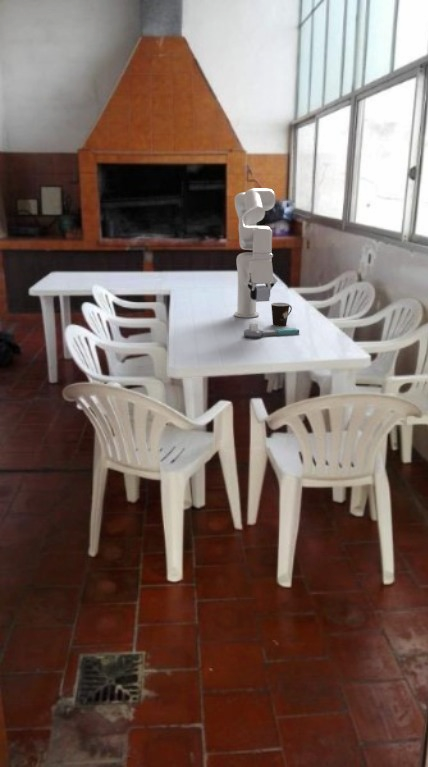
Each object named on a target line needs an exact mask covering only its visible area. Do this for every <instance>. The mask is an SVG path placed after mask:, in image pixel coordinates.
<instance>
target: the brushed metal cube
mask: <svg viewBox="0 0 428 767" xmlns="http://www.w3.org/2000/svg"><path fill="white" fill-rule="evenodd" d="M269 296H270V297H271V290H270V287H268V286H266V285H265V284H264V285H263V284H260V285H257V286H256V287H255V300H254V301H256V303H259V302H269V301H270V297H269ZM251 300H253V299H251Z"/></svg>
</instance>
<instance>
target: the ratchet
mask: <svg viewBox="0 0 428 767" xmlns="http://www.w3.org/2000/svg"><path fill="white" fill-rule="evenodd" d="M299 334H300V329H299V328H297V327H288V328H275V329H273V330H272V329H271V330H262V329H260V328H259V324H258V323H257V322H248V329H244V330H243V337H244V338H245V339H249V338H250V340H258V339H262V338H264V337H266V338H267V337H276V336H277V337H280V336H292V335H293V336H294V335H299Z"/></svg>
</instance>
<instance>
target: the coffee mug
mask: <svg viewBox="0 0 428 767" xmlns="http://www.w3.org/2000/svg"><path fill="white" fill-rule="evenodd" d="M292 308H293V307H292V305H291V304H290V303H288V302H287V303H286V302H272V303H271V317H272V318H271V319H272V326H274V327H280V328H281V327H286V326H287V323H288V317H289V315H291V312H292V310H293V309H292Z"/></svg>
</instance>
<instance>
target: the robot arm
mask: <svg viewBox="0 0 428 767" xmlns="http://www.w3.org/2000/svg"><path fill="white" fill-rule="evenodd" d="M275 205H276V194H275V191H273V189H271V188H250V189H248V190H246V191H245V192H244V191H243V192H240V193H237V194H236V195H235V197H234V207H235V212H236V215H237V217H238V236H239V237H238V239H239V241H238V242H239V247H240V248H241V249H242V250H249V251H252V252H242V253H239V254H238V255H237V256H236V260H235V261H236V268H237V269H236V270H237V305H236V306H237V310H236V311H235V312H234V313H233V314H234V316H235V317H238V318H244V319H245V318H246V319H249V318H252V319H253V318H257V317H259V315H260V313H259V312H257V302H256V301H254V300H255V287H256V286H258V285H263V284H264V285H265V286H268V287H270V291H271V290H272V289H273V287H274V286H275V285H276V284H277V282H278V279H277V278H276V277H275V276H274V270H273V262H272V258H273V257H274V254H273V253H272V249H273V246H272V245H273V240H272V239H273V230H272V229H271V227H270V226H268V225H257V223H258V222H260V221H262V220H263V219H264V218H265V215H266V211H270V210H272V209H273V208H274V207H275ZM270 297H271V295H270V296H269V298H270ZM251 299H253V300H251Z"/></svg>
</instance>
